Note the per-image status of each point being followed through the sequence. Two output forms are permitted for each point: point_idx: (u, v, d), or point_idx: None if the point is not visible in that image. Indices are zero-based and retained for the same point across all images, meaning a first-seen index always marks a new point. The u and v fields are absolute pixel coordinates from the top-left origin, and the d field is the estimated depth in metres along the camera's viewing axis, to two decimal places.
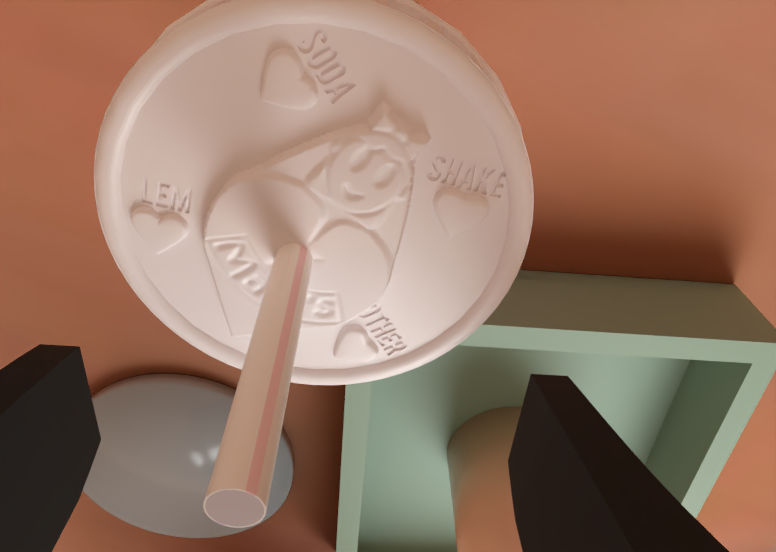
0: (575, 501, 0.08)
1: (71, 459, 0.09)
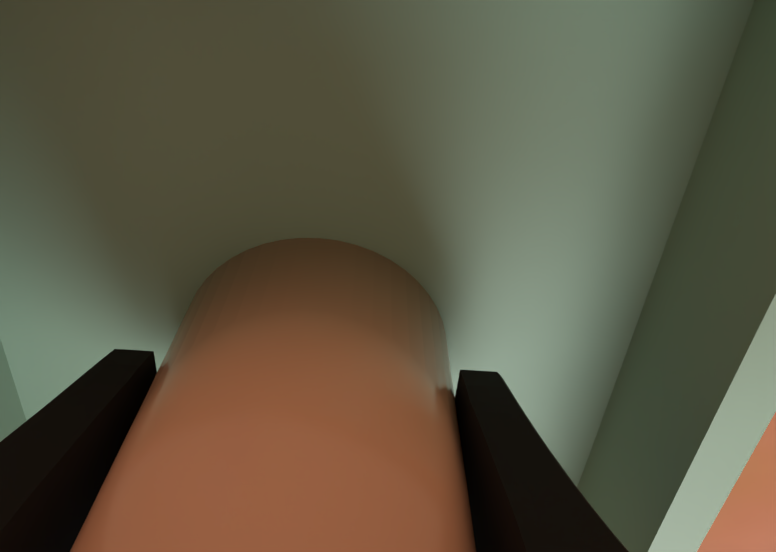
0: (487, 496, 0.08)
1: None
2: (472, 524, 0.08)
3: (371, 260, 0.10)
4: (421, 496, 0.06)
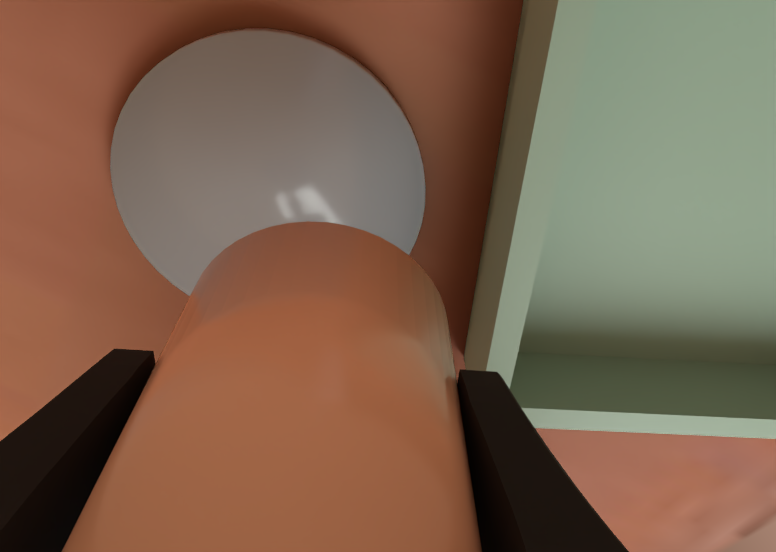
0: (487, 496, 0.08)
1: None
2: (474, 503, 0.08)
3: (378, 245, 0.10)
4: (429, 469, 0.07)
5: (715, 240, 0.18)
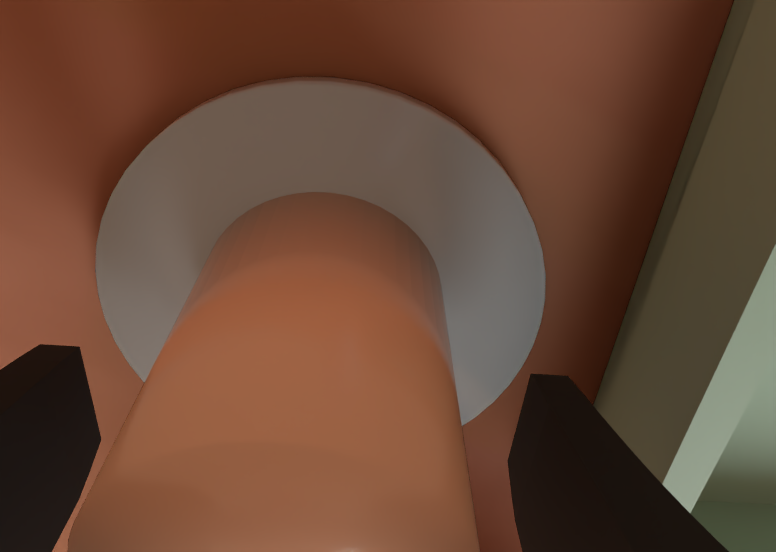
0: (575, 501, 0.08)
1: (71, 459, 0.09)
2: None
3: (377, 213, 0.11)
4: (421, 393, 0.08)
5: None
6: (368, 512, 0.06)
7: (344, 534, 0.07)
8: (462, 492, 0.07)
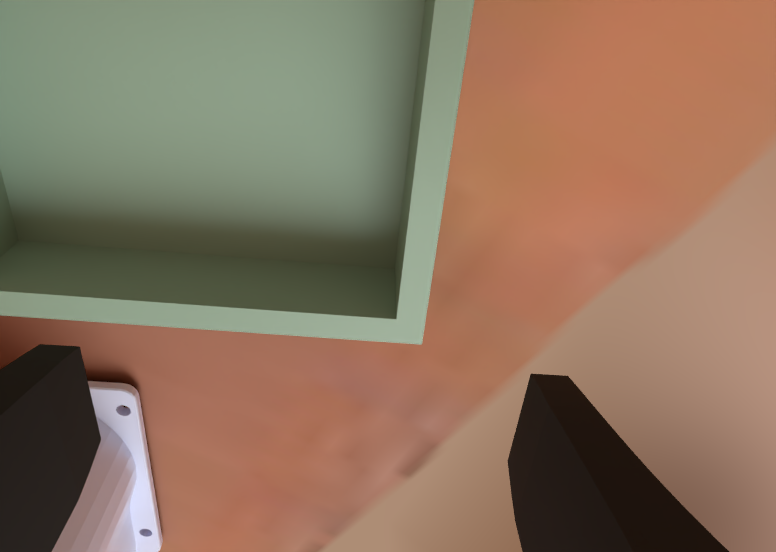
0: (575, 501, 0.08)
1: (71, 459, 0.09)
2: None
3: None
4: None
5: (214, 105, 0.16)
6: None
7: None
8: None
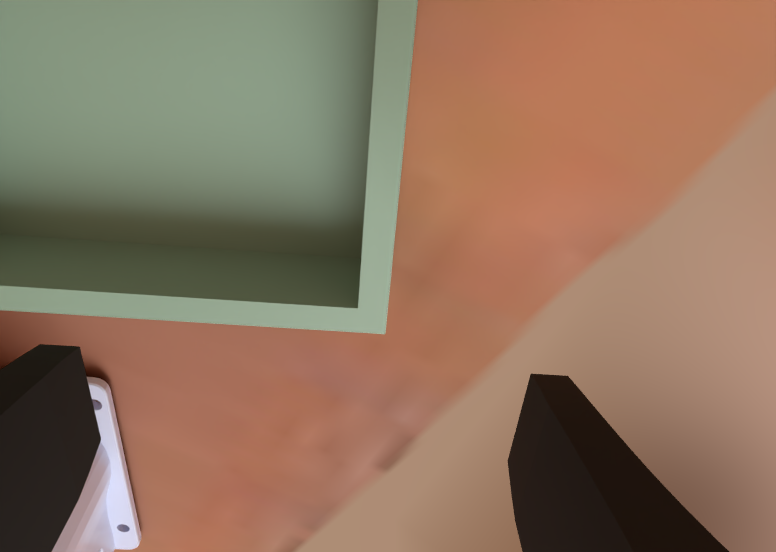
0: (575, 501, 0.08)
1: (71, 459, 0.09)
2: None
3: None
4: None
5: (171, 93, 0.16)
6: None
7: None
8: None
